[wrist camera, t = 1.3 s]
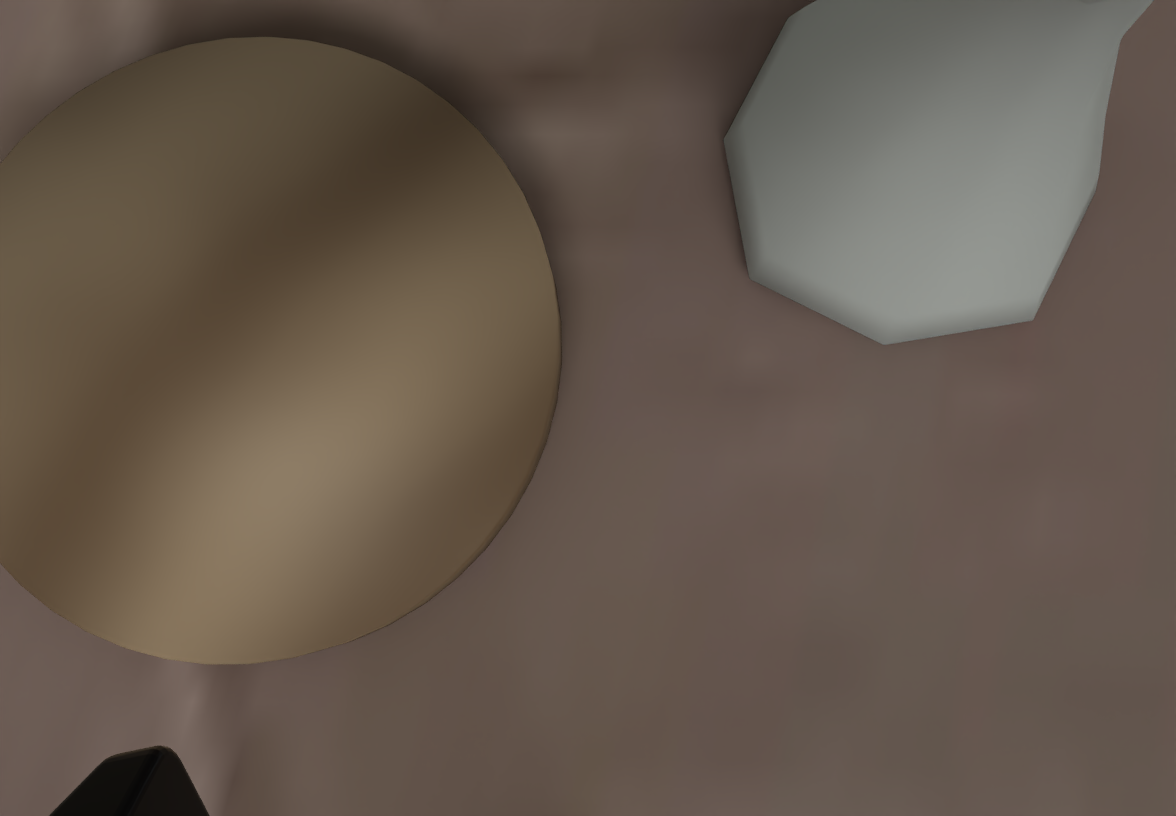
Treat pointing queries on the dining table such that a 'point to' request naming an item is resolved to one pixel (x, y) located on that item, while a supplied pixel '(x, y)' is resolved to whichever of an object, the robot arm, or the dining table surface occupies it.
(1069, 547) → the dining table surface
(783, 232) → the flask
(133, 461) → the brass disc
